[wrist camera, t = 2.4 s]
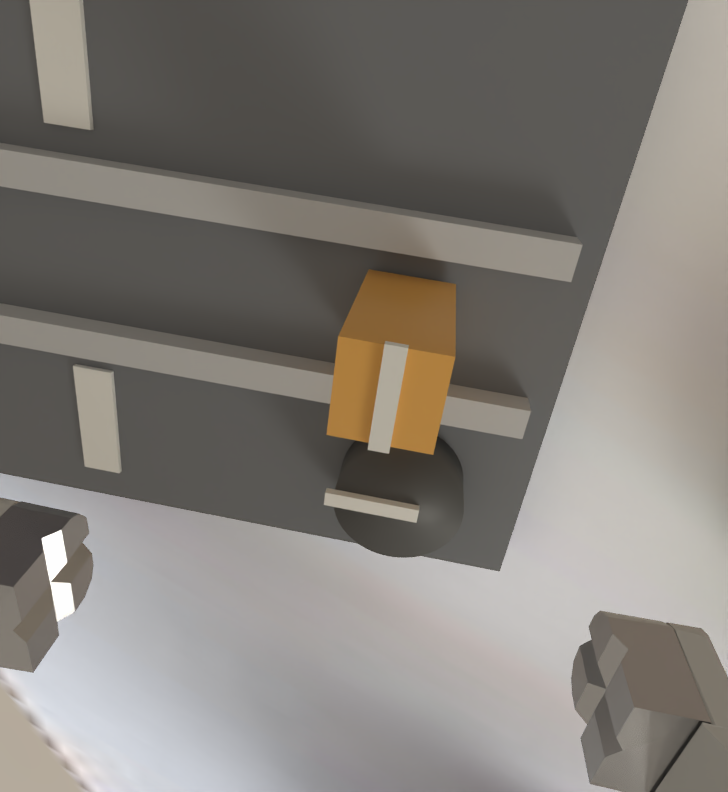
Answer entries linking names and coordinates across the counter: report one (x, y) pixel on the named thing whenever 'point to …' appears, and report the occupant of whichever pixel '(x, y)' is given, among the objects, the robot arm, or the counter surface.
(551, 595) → the counter surface
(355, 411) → the fader knob
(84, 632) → the counter surface
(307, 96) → the console board
